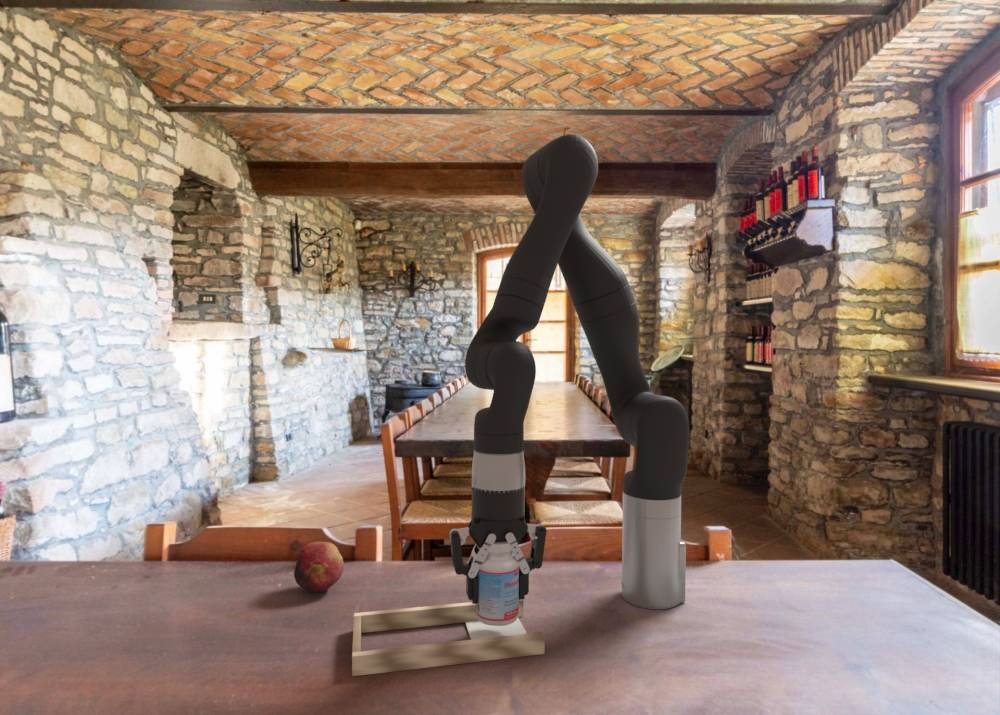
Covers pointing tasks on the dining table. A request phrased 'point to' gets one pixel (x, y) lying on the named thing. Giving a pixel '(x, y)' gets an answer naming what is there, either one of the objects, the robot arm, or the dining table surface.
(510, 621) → the pill bottle
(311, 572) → the fruit
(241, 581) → the dining table surface
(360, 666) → the bay
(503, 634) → the front pad
